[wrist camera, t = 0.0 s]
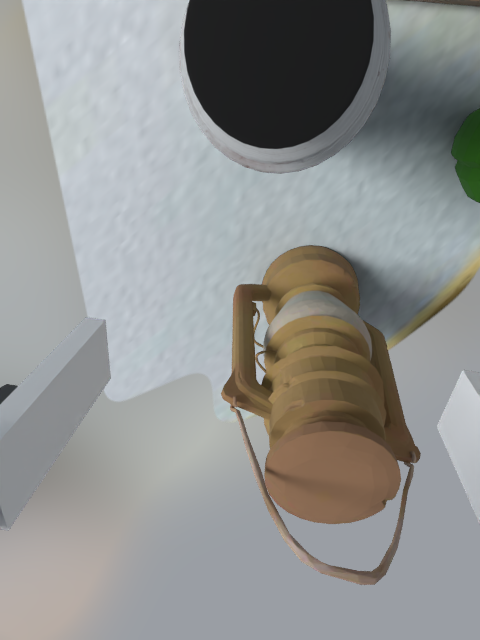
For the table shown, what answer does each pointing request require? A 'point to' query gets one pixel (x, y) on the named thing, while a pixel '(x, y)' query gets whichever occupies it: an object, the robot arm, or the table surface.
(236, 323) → the lantern
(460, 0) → the docking mat
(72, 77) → the table surface
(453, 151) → the bell pepper
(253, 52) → the thermos bottle
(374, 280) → the table surface
